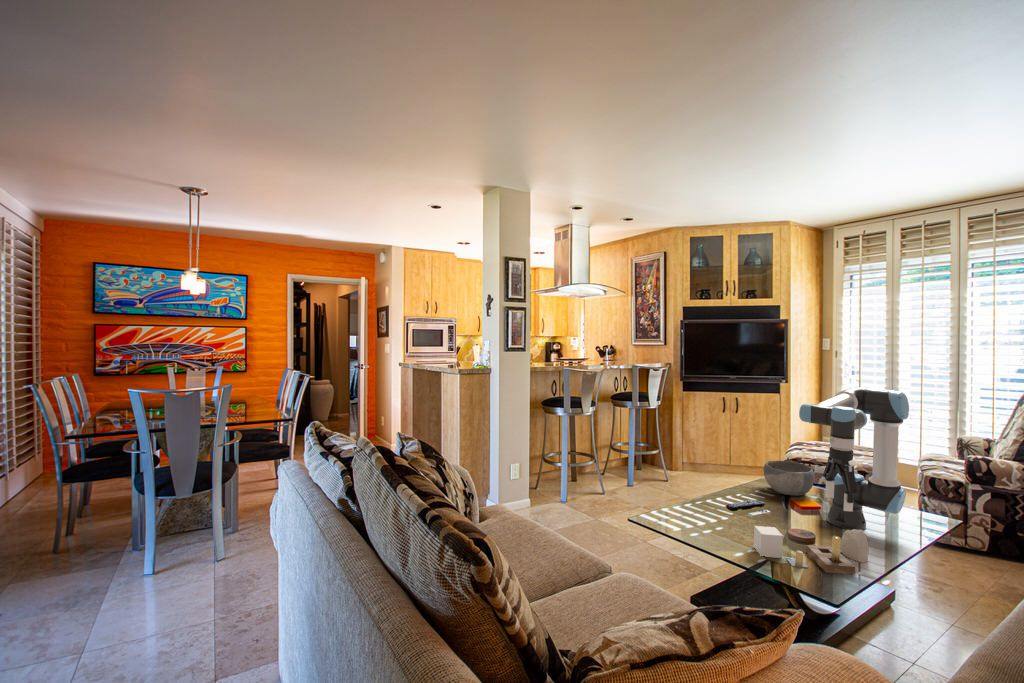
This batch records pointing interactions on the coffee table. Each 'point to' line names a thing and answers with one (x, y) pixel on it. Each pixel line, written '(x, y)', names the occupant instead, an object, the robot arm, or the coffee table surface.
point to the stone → (855, 545)
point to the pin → (836, 549)
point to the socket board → (824, 560)
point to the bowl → (789, 477)
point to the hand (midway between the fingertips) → (838, 504)
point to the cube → (768, 541)
